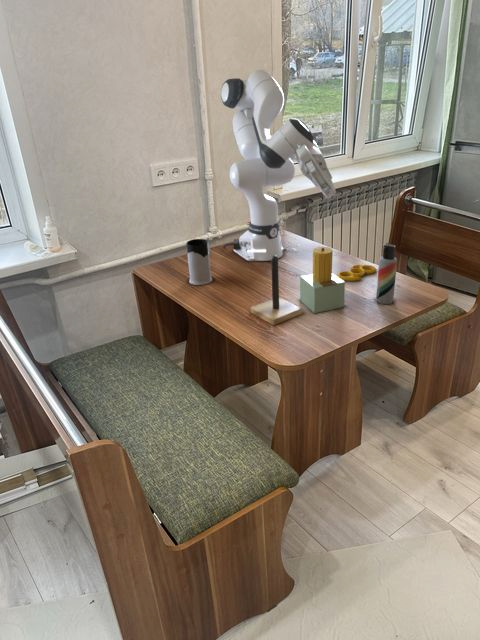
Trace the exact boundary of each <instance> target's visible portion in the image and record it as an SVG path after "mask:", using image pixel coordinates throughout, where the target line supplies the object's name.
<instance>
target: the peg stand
mask: <svg viewBox="0 0 480 640" xmlns="http://www.w3.org/2000/svg"><path fill="white" fill-rule="evenodd" d="M270 264H271V265H270V266H271V267H270V269H271V299H269V300H266V301H264V302H261V303H258V304H256V305H253V306H250V314H252V315H254V316H256V317H257V318H259V319H261V320H262V321H265V322H267V323H268V324H270V325H272V326H275V325H279V324H280V323H283V322H285V321H287V320H290V319H292V318H295V317H297V316H299V315H301V314H303V309H302V307H300V306H298V305H296V304H294V303H292V302H290V301H288V300H286V299H284V298H282V297H280V280H279V277H280V276H279V275H280V274H279V258H278V257H277V256H276V255H274V256H272V257H271V260H270Z"/></svg>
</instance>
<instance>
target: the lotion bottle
mask: <svg viewBox="0 0 480 640" xmlns="http://www.w3.org/2000/svg"><path fill="white" fill-rule="evenodd" d="M382 246H383V247H382V256H380V257H379V261H378V271H377V283H376V295H375V296H376V297H375V300H376V302H377V303H378V304H381V305H391V304H392V303H393V302H394V296H395V287H396V277H397V266H398V258H397V257H395V256H396V245H395V244H392V243H389V242H386V243H384V244H383V245H382Z"/></svg>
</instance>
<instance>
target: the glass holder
mask: <svg viewBox="0 0 480 640" xmlns="http://www.w3.org/2000/svg"><path fill="white" fill-rule="evenodd" d="M186 251H187V254H186V255H187V263H188V271H189V272H188V273H189V280H188V283H189V284H191V285H193V286H204V285H208V284H210V283H212V281H213V277H212V276H211V275H212V274H211V264H210V255H211V241H210V239H209V238H204V239H203V238H193V239H190V240H187V241H186Z"/></svg>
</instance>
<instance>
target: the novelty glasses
mask: <svg viewBox="0 0 480 640" xmlns="http://www.w3.org/2000/svg"><path fill="white" fill-rule="evenodd" d="M376 269H377V268H376V267H375V266H374V265H369V264H356V265H353V266H352V268H350V269H349V271H340V272H338V273H337V275H336V276H337V277H339V278H340V279H341V280H343V281H345V282H346V281H348V282H355V281H360V280H361V279H362V277H363V276H365V275H371V274H374V273H376Z"/></svg>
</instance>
